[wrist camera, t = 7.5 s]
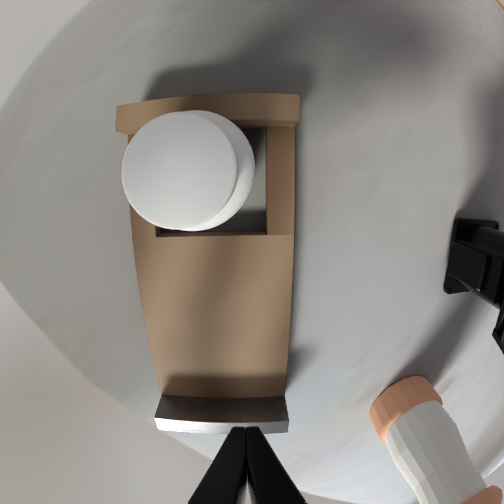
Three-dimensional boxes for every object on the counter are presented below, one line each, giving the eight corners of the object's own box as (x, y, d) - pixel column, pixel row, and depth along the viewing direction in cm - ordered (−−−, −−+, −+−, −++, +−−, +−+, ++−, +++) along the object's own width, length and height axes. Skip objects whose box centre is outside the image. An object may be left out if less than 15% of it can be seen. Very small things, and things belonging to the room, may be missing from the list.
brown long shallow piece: (290, 107, 16) (303, 89, 12) (282, 398, 22) (287, 432, 18) (135, 115, 16) (109, 102, 12) (168, 396, 22) (158, 429, 18)
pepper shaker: (439, 381, 23) (523, 500, 5) (398, 425, 25) (456, 547, 6) (401, 369, 22) (497, 525, 3) (356, 419, 24) (412, 572, 5)
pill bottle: (183, 121, 16) (132, 79, 8) (262, 144, 17) (280, 114, 8) (159, 200, 17) (91, 224, 9) (236, 223, 18) (230, 268, 9)
